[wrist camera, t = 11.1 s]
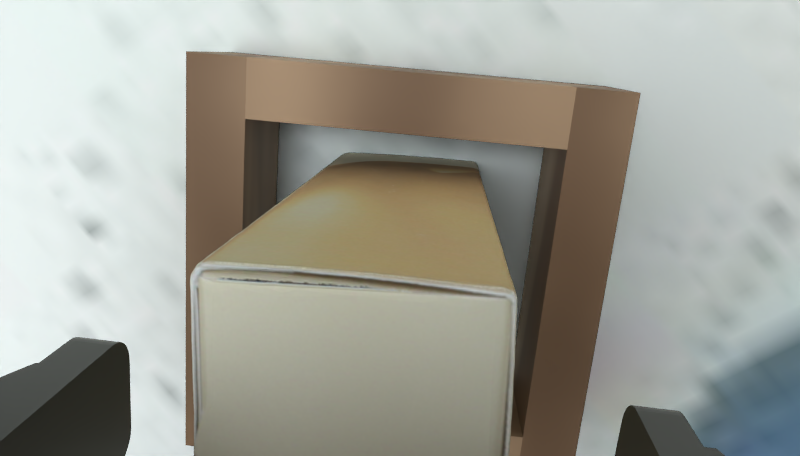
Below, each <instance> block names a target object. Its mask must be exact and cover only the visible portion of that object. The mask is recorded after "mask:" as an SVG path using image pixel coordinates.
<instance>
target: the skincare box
mask: <svg viewBox="0 0 800 456" xmlns="http://www.w3.org/2000/svg"><path fill="white" fill-rule="evenodd" d="M190 289H191V341H192V372H193V404H194V456H509V452H510V437H511V420H512V405H513V379H514V369H515V343H516V322H517V295H516V292H515V288H514V285H513V281H512V279H511V276H510V273H509V270H508V267H507V263H506V260H505V256H504V252H503V249H502V246H501V243H500V239H499V236H498V234H497V229H496V226H495V223H494V220H493V217H492V214H491V210H490V207H489V203H488V200H487V196H486V193H485V190H484V187H483V184H482V180H481V176H480V173H479V169H478V166H477V164H476V163H475V162H472V161H461V160H451V159H441V158H427V157H415V156H402V155H386V154H367V153H345V154H343V155H341V156H340V157H339V158H337V159H336V160H335V161H333V162H332V163H331V164H330V165H328V166H327V167H326V168H324V169H323V170H321V171H320V172H319V173H318V174H316V175H315V176H314V177H312V178H311V179H310V180H309V181H307V182H306V183H304V184H303V185H302V186H300V187H299V188H298V189H296V190H295V191H294V192H293V193H291V194H290V195H289V196H287V197H286V198H285V199H283V200H282V201H281V202H279V203H278V204H277V205H275V206H274V207H273V208H271V209H270V210H269V211H267V212H266V213H265V214H264V215H262V216H261V217H260V218H258V219H257V220H256V221H254V222H253V223H252V224H250V225H249V226H248V227H247V228H245V229H244V230H243V231H241V232H240V233H238V234H237V235H235V236H234V237H233V238H231V239H230V240H229V241H228V242H226V243H225V244H224V245H222V246H221V247H220V248H218V249H217V250H216V251H214V252H213V253H211V254H210V255H209V256H207V257H206V258H205V259H204V260H202V261H201V262H200V263H198V264H197V265H196V267H195V268H194V270H193V272H192V273H191V277H190Z"/></svg>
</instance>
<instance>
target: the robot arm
mask: <svg viewBox="0 0 800 456" xmlns="http://www.w3.org/2000/svg"><path fill="white" fill-rule="evenodd" d="M130 434H131V407H130V363H129V353H128V349H127V347H126V345H125V344H124V343H121V342H114V341H106V340H97V339H89V338H81V337H75V338H73V339H71V340H69V341H68V342H67V343H65V344H64V345H63V346H61V347H60V348H59V349H57V350H56V351H55V352H53V353H52V354H50V355H49V356H48V357H46V358H45V359H44V360H42V361H41V362H40V363H34V364H32V365H30V366H27V367H25V368H22V369H20V370H17V371H15V372H12V373H10V374H7V375H5V376H3V377H1V378H0V456H125V454H126V451H127V448H128V444H129V440H130ZM615 456H725V455H724V454H722V453H721V452H720V451H719V450H717V449H716V448H707V447H703V445H702V443H701V442H700V440H699V439H698V437H697V436H696V434H695V432H694V431H693V429H692V428H691V426H690V424H689V423H688V421H687V420H686V418H685V416H684V415H683V414H682V413H681V412H680V411H674V410H666V409H657V408H649V407H641V406H633V405H630V406H628V407H627V409H626V410H625V413H624V415H623V419H622V423H621V428H620V433H619V438H618V443H617V448H616V453H615Z"/></svg>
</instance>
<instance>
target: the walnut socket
mask: <svg viewBox="0 0 800 456" xmlns="http://www.w3.org/2000/svg"><path fill="white" fill-rule="evenodd" d="M639 98H640V93H638V92H632V91H627V90H622V89H617V88H611V87H606V86H596V85H585V84H574V83H563V82H552V81H541V80H530V79H519V78H508V77H497V76H486V75H475V74H464V73H453V72H442V71H431V70H420V69H409V68H399V67H388V66H377V65H366V64H355V63H344V62H333V61H322V60H311V59H300V58H289V57H278V56H267V55H256V54H245V53H234V52H186V445H190V446H194V404H193V372H192V341H191V289H190V277H191V273H192V272H193V270H194V268H195V267H196V265H197V264H198V263H200V262H201V261H202V260H204V259H205V258H206V257H207V256H209V255H210V254H211V253H213V252H214V251H216V250H217V249H218V248H220V247H221V246H222V245H224V244H225V243H226V242H228V241H229V240H230V239H231V238H233V237H234V236H235V235H237V234H238V233H240V232H241V231H243V230H244V229H245V228H247V227H248V226H249V225H250V224H252V223H253V222H254V221H256V220H257V219H258V218H260V217H261V216H262V215H264V214H265V213H266V212H267V211H269V210H270V209H271V208H273V207H274V206H275V205H276V192H277V166H278V140H279V122H283V123H293V124H304V125H314V126H325V127H335V128H346V129H356V130H366V131H377V132H387V133H398V134H408V135H419V136H429V137H439V138H450V139H460V140H471V141H481V142H492V143H502V144H513V145H523V146H533V147H544V152H543V159H542V166H541V173H540V179H539V186H538V193H537V200H536V207H535V214H534V221H533V228H532V235H531V241H530V248H529V255H528V262H527V269H526V276H525V283H524V290H523V297H522V304H521V310H520V317H519V324H518V331H517V338H516V345H515V369H514V379H513V405H512V420H511V437H510V452H509V456H575V455H576V449H577V444H578V438H579V432H580V427H581V421H582V416H583V410H584V405H585V399H586V393H587V388H588V382H589V377H590V371H591V366H592V360H593V354H594V349H595V343H596V338H597V332H598V327H599V321H600V316H601V310H602V304H603V299H604V293H605V288H606V282H607V277H608V271H609V265H610V260H611V254H612V249H613V243H614V238H615V232H616V226H617V221H618V215H619V210H620V204H621V199H622V193H623V187H624V182H625V176H626V171H627V165H628V160H629V154H630V148H631V143H632V137H633V132H634V126H635V121H636V115H637V109H638V104H639Z"/></svg>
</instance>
